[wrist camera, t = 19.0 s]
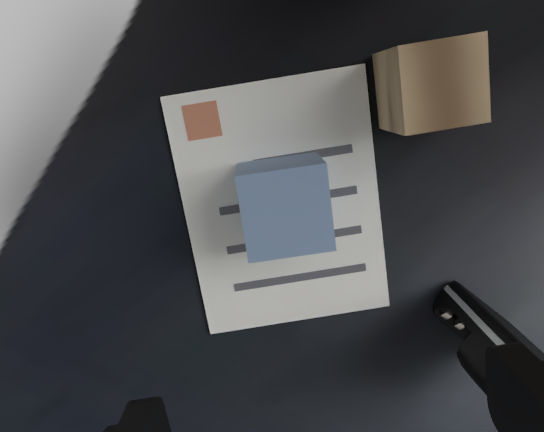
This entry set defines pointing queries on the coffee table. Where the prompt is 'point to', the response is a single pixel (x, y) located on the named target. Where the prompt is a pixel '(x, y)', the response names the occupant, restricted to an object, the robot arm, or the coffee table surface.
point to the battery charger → (476, 329)
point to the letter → (270, 144)
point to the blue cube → (285, 207)
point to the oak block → (433, 84)
